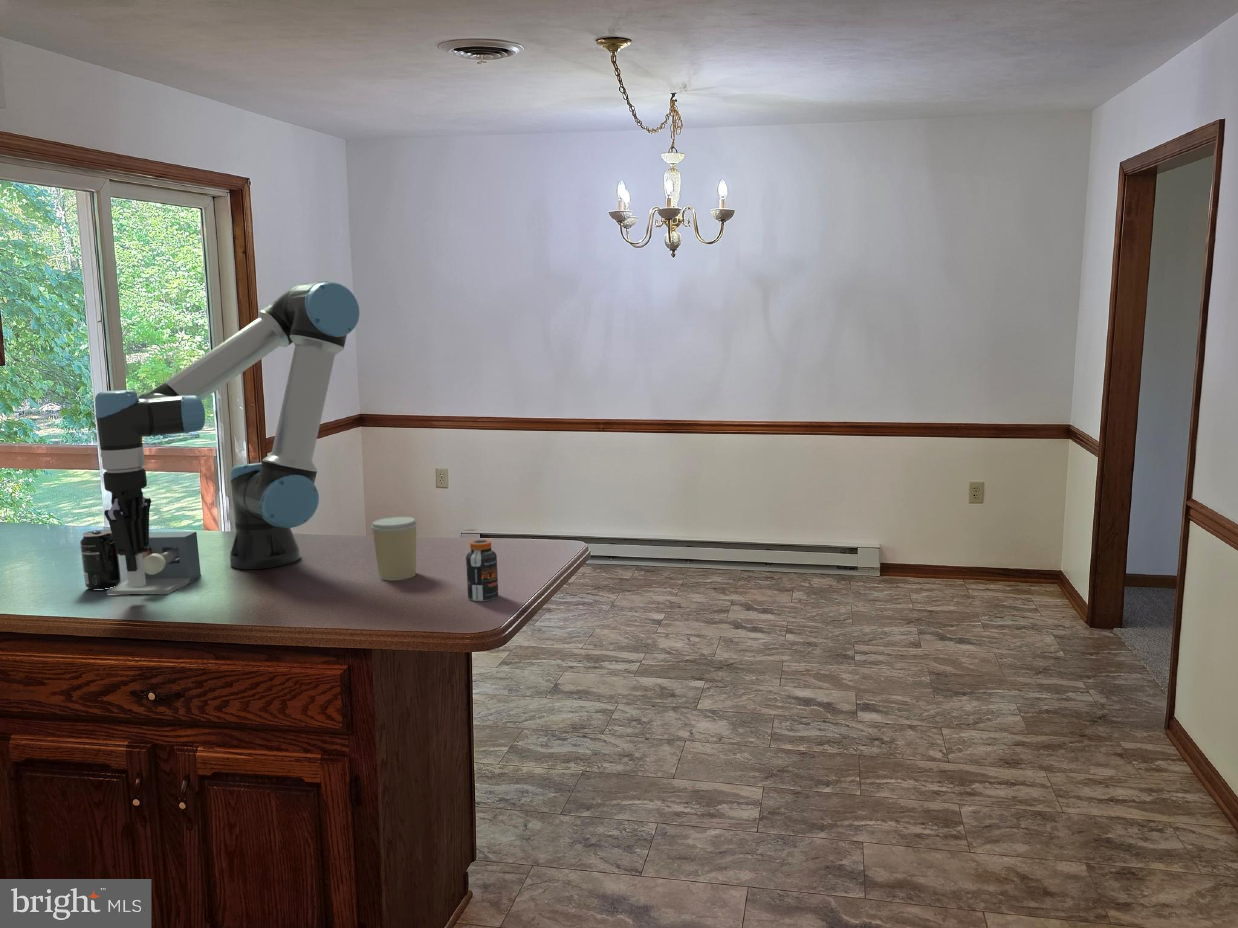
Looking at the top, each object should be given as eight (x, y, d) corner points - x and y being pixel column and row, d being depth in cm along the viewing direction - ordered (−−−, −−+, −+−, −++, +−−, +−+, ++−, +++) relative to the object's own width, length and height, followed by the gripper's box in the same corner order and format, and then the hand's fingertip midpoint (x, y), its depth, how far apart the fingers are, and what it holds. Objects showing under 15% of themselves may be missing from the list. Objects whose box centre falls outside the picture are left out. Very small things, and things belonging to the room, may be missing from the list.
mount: (200, 576, 215) (196, 531, 214) (168, 594, 201) (162, 547, 200) (143, 576, 216) (138, 532, 214) (107, 595, 202) (101, 548, 201)
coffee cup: (428, 571, 212) (425, 517, 211) (401, 583, 204) (398, 526, 202) (393, 568, 216) (389, 515, 215) (366, 579, 208) (361, 524, 206)
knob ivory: (192, 558, 215) (190, 540, 214) (161, 574, 202) (159, 555, 201) (174, 558, 215) (172, 540, 214) (142, 574, 202) (140, 555, 201)
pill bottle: (485, 603, 188) (482, 546, 186) (461, 599, 191) (458, 542, 189) (504, 595, 193) (501, 539, 191) (481, 591, 196) (478, 536, 194)
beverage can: (115, 581, 213) (109, 527, 211) (126, 586, 208) (120, 531, 207) (81, 588, 209) (74, 533, 207) (91, 593, 204) (84, 537, 202)
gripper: (124, 464, 199) (137, 576, 203) (86, 475, 186) (100, 595, 190) (159, 463, 199) (172, 576, 203) (124, 474, 186) (137, 594, 190)
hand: (137, 585), depth 196 cm, fingers closed
